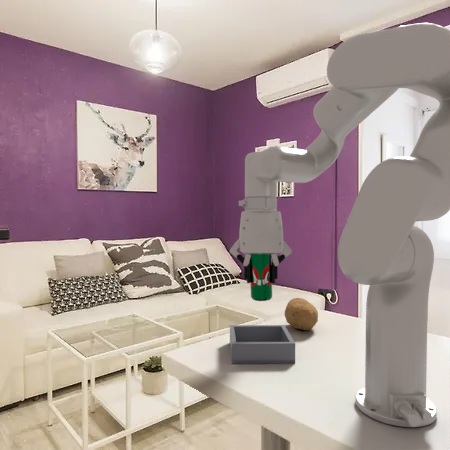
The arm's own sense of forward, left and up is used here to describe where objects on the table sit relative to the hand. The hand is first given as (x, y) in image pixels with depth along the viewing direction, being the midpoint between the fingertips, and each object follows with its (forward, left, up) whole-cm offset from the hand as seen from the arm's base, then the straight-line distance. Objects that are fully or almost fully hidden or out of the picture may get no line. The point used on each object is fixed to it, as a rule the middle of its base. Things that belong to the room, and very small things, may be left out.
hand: (260, 281), depth 93 cm
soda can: (0, 0, -4) cm, 4 cm away
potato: (+19, -14, -17) cm, 29 cm away
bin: (0, 0, -17) cm, 17 cm away
